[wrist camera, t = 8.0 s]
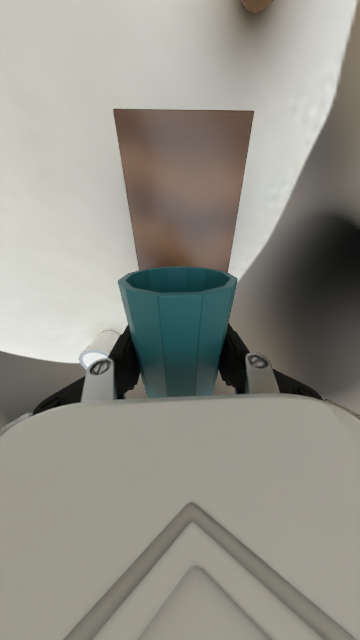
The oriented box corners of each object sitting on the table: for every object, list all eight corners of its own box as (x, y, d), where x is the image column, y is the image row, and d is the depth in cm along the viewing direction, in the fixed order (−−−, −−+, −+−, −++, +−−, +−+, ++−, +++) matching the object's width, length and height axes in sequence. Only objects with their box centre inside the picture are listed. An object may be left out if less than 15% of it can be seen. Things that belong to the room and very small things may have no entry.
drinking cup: (136, 267, 10) (94, 297, 5) (218, 265, 10) (265, 293, 5) (150, 353, 14) (137, 417, 9) (207, 351, 14) (225, 413, 9)
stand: (133, 153, 17) (112, 108, 11) (226, 154, 17) (254, 110, 12) (148, 269, 24) (140, 278, 18) (214, 267, 25) (227, 277, 19)
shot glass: (132, 344, 33) (123, 367, 27) (110, 354, 35) (96, 378, 29) (113, 323, 30) (98, 344, 24) (89, 335, 31) (70, 358, 25)
